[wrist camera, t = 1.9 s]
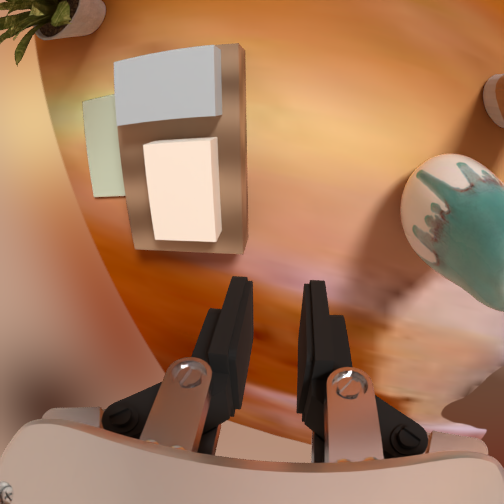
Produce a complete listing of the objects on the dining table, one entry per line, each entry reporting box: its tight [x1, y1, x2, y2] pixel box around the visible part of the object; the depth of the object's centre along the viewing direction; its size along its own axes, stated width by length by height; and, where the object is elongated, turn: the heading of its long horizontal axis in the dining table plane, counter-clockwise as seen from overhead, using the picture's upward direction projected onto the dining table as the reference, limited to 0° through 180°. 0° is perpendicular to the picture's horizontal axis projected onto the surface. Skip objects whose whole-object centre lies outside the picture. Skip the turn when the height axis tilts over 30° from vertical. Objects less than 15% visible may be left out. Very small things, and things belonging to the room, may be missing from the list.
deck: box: [117, 43, 248, 254], centre depth 28 cm, size 20×12×4 cm, turn 1°
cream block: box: [143, 137, 222, 242], centre depth 26 cm, size 9×6×2 cm, turn 1°
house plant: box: [0, 0, 106, 65], centre depth 15 cm, size 14×14×16 cm
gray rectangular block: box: [114, 45, 222, 126], centre depth 22 cm, size 9×6×2 cm, turn 91°
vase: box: [400, 154, 504, 312], centre depth 21 cm, size 12×12×18 cm
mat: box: [82, 94, 125, 197], centre depth 30 cm, size 12×7×1 cm, turn 1°
